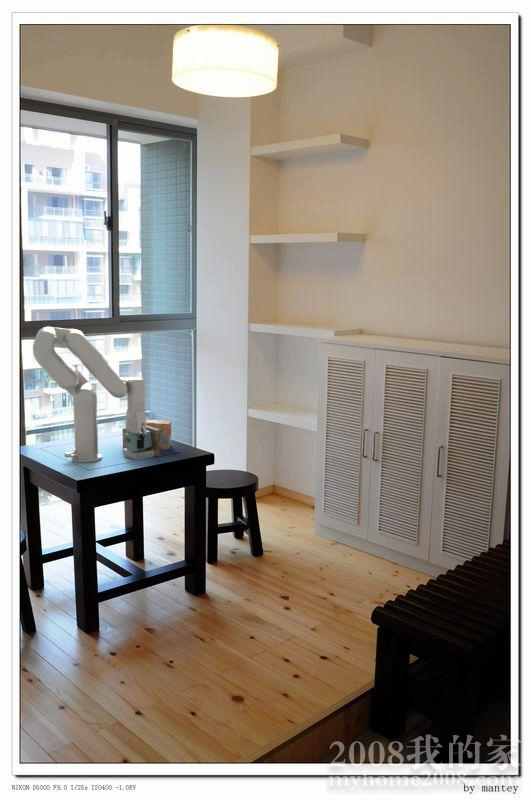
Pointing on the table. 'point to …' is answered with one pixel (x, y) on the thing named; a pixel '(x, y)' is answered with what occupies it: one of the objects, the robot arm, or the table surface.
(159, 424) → the stack of blocks
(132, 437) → the teal cabinet
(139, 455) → the wooden bookend
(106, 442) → the table surface
